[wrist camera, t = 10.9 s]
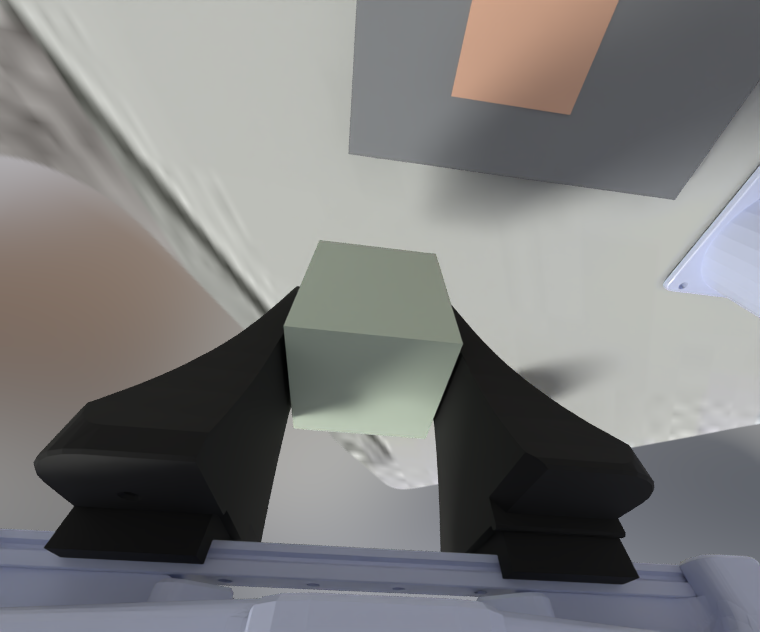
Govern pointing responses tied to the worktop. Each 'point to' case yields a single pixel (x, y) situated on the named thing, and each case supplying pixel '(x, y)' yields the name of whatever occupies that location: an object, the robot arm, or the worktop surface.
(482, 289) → the worktop surface
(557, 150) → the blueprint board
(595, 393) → the worktop surface
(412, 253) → the sage block
